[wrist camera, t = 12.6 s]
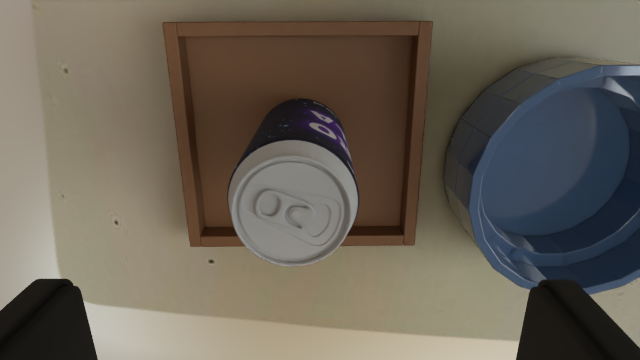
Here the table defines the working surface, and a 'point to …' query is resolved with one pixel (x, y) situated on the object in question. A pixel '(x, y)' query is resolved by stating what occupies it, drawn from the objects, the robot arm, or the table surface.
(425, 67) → the tray
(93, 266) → the table surface
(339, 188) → the beverage can
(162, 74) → the table surface
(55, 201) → the table surface
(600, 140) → the bowl
